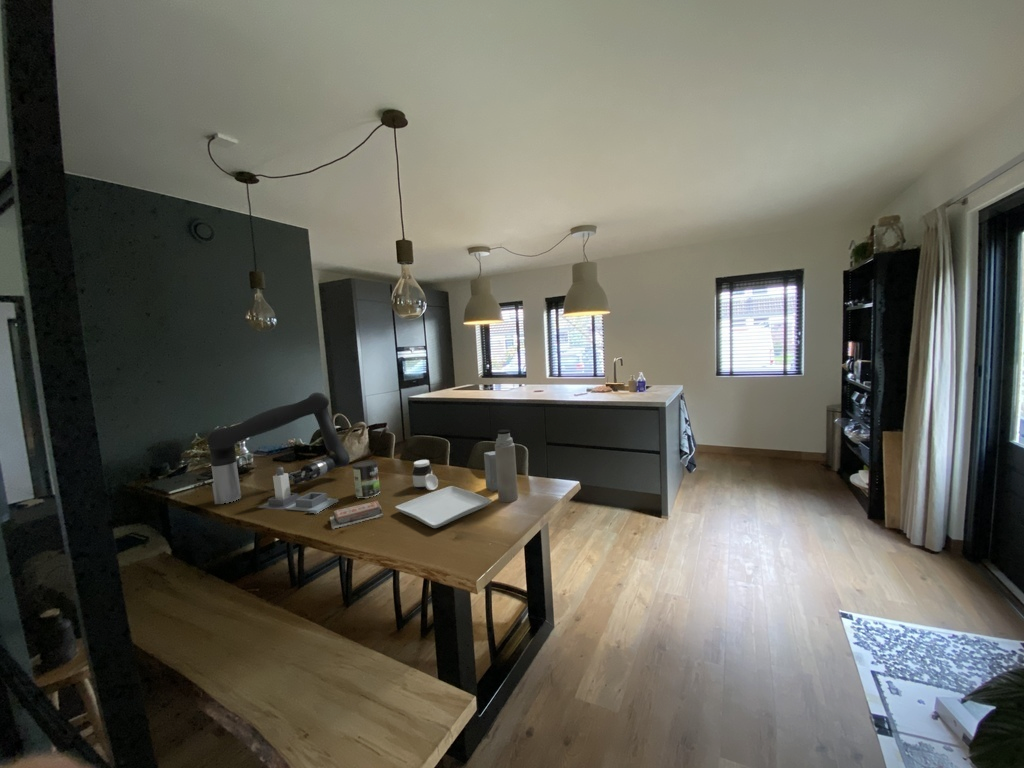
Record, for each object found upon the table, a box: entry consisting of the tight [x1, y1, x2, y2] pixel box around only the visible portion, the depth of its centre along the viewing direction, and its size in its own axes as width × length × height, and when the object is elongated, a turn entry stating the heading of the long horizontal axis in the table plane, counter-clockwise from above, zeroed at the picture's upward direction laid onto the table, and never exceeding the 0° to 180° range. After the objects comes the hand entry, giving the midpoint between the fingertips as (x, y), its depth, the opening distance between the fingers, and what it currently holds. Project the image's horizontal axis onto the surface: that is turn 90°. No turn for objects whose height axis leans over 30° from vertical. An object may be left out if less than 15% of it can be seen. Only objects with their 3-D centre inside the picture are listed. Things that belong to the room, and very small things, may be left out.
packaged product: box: [329, 500, 384, 530], centre depth 153 cm, size 18×5×10 cm
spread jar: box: [411, 459, 439, 491], centre depth 182 cm, size 12×11×12 cm
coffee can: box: [352, 459, 381, 499], centre depth 178 cm, size 10×10×14 cm
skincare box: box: [483, 450, 498, 493], centre depth 176 cm, size 8×7×16 cm
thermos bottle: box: [494, 429, 519, 503], centre depth 162 cm, size 8×8×28 cm
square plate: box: [394, 485, 493, 529], centre depth 155 cm, size 27×27×4 cm
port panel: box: [284, 491, 339, 515], centre depth 168 cm, size 16×12×4 cm
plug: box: [272, 466, 292, 499], centre depth 173 cm, size 4×4×15 cm
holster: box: [256, 492, 303, 510], centre depth 174 cm, size 14×14×4 cm
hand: (286, 481), depth 175 cm, fingers open, 8 cm apart
